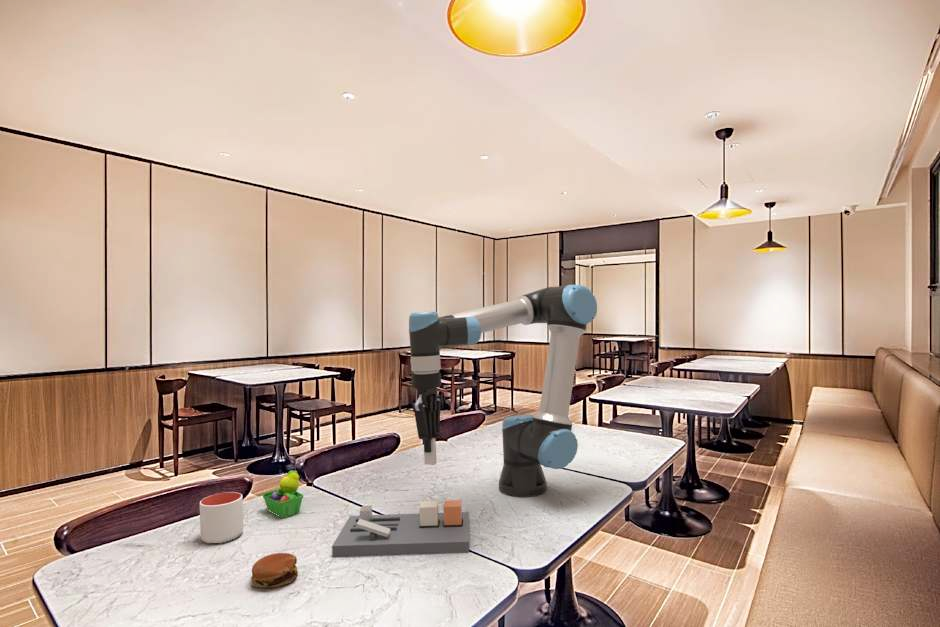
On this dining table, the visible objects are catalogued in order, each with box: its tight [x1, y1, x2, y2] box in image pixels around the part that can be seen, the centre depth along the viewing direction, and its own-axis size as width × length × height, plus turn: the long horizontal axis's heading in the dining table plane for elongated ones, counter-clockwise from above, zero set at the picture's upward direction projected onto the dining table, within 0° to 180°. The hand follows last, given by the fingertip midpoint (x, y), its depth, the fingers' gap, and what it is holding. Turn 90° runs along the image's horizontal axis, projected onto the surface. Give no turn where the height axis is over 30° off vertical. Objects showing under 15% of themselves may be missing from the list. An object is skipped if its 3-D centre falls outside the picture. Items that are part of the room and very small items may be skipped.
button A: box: [443, 499, 463, 525], centre depth 130 cm, size 4×4×5 cm
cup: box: [199, 491, 244, 544], centre depth 132 cm, size 10×10×10 cm
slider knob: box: [359, 505, 373, 523], centre depth 130 cm, size 2×4×4 cm, turn 0°
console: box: [331, 511, 470, 558], centre depth 128 cm, size 32×18×4 cm, turn 90°
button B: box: [419, 500, 440, 526], centre depth 130 cm, size 4×4×5 cm
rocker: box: [356, 519, 390, 537], centre depth 123 cm, size 8×3×1 cm, turn 90°
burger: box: [250, 552, 299, 589], centre depth 109 cm, size 10×9×5 cm
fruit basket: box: [262, 469, 304, 519], centre depth 148 cm, size 11×9×11 cm
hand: (430, 463), depth 130 cm, fingers closed
